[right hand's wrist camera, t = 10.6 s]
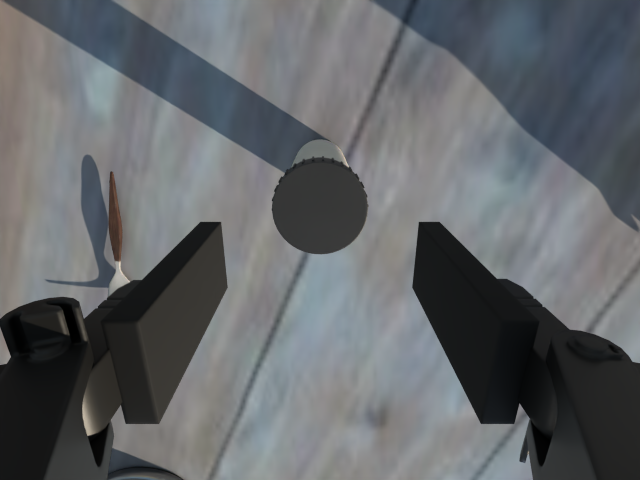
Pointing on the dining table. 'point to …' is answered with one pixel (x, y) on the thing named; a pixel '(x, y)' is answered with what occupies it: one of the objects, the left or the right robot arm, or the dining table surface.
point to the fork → (115, 237)
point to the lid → (319, 205)
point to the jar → (320, 151)
